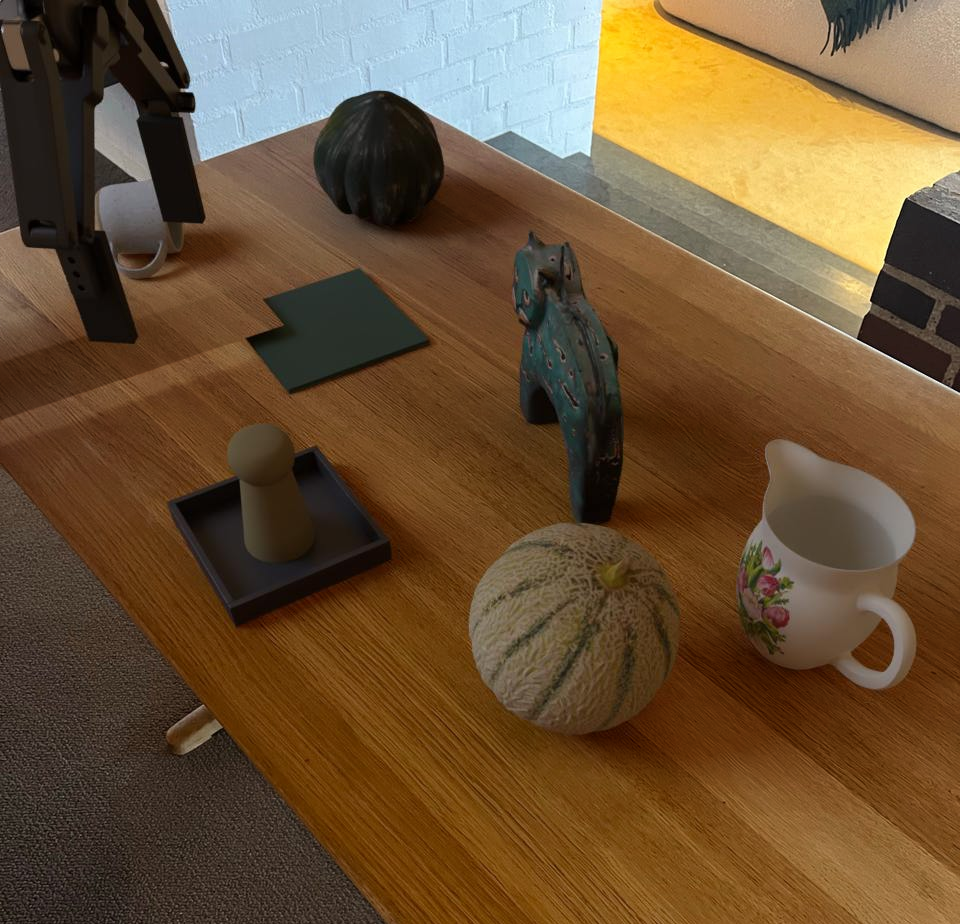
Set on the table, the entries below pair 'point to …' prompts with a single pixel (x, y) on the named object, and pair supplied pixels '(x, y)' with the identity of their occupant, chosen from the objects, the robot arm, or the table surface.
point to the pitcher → (825, 567)
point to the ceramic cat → (570, 373)
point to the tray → (269, 586)
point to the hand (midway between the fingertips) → (151, 276)
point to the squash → (379, 158)
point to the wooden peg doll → (270, 494)
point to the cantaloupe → (575, 628)
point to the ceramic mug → (136, 225)
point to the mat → (333, 330)
